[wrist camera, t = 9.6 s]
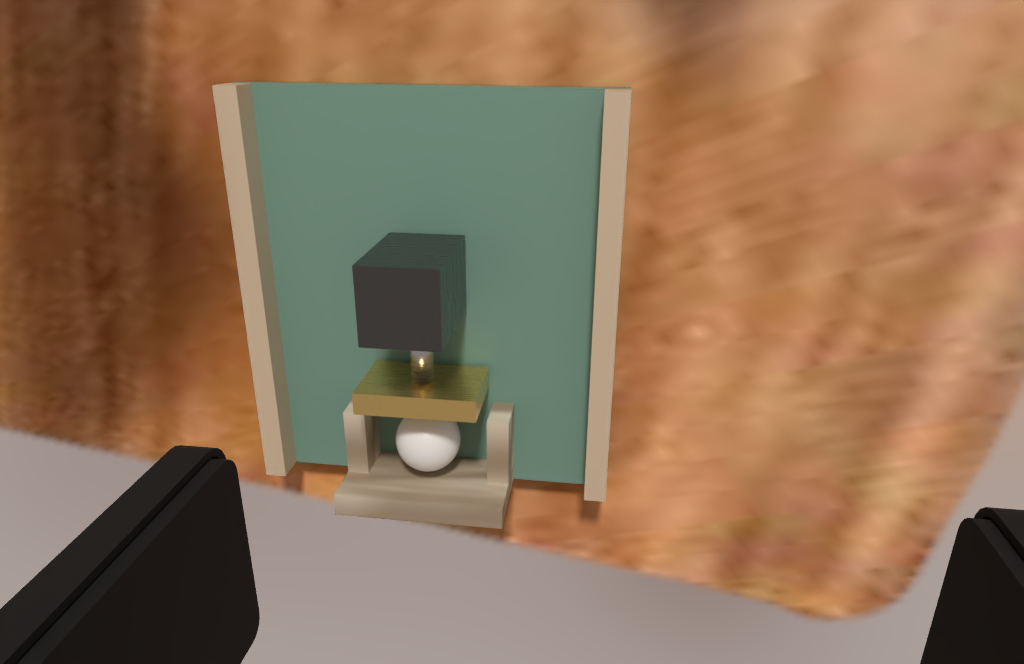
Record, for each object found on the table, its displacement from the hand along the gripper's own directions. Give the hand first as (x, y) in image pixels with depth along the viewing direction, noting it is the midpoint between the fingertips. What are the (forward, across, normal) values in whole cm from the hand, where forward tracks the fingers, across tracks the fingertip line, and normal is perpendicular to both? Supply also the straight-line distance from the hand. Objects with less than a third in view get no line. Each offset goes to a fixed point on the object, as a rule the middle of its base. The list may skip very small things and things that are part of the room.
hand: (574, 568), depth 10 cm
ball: (+27, +9, +15) cm, 32 cm away
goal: (+29, +9, +15) cm, 34 cm away
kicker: (+29, +9, +8) cm, 31 cm away
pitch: (+30, +9, +7) cm, 32 cm away
